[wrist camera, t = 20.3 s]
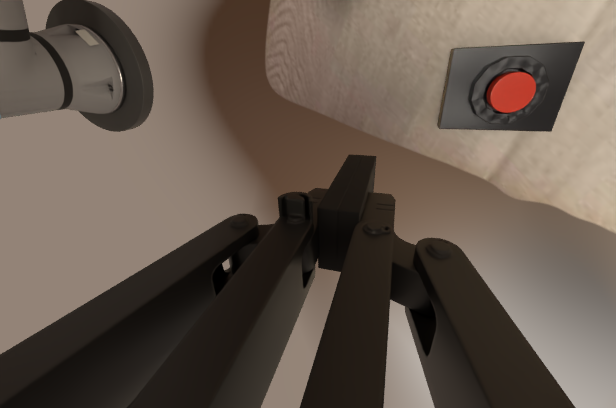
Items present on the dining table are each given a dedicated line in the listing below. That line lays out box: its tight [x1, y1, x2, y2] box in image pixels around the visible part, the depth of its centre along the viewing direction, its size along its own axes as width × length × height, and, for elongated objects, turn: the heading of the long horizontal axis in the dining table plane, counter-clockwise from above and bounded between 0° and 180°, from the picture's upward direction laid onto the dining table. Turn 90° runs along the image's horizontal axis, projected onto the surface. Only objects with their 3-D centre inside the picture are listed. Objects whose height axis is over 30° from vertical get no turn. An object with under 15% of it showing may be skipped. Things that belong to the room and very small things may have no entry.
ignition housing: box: [438, 42, 585, 131], centre depth 31 cm, size 12×9×4 cm
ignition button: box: [486, 71, 536, 113], centre depth 29 cm, size 4×4×2 cm
